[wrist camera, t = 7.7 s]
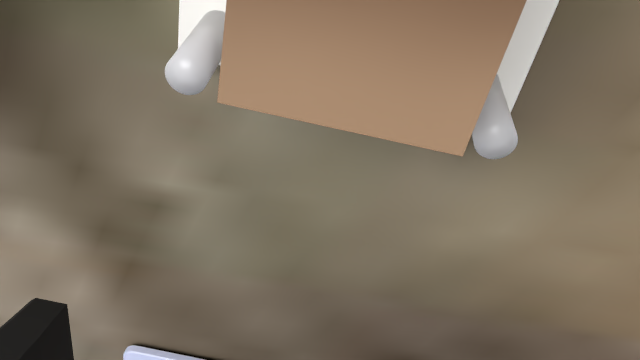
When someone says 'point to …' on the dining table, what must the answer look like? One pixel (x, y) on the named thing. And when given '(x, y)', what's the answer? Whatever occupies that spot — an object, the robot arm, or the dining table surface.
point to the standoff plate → (494, 120)
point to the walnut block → (368, 64)
